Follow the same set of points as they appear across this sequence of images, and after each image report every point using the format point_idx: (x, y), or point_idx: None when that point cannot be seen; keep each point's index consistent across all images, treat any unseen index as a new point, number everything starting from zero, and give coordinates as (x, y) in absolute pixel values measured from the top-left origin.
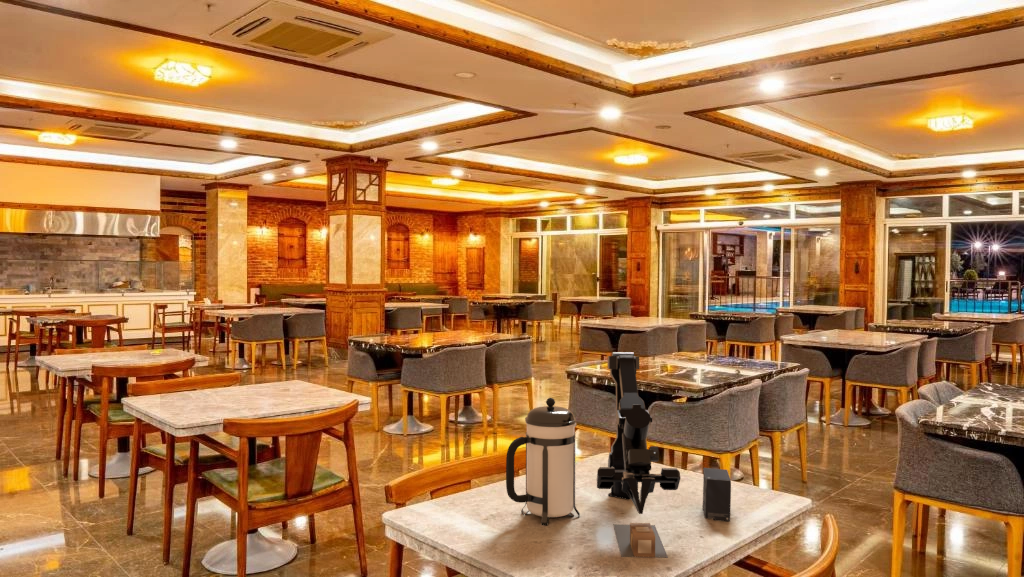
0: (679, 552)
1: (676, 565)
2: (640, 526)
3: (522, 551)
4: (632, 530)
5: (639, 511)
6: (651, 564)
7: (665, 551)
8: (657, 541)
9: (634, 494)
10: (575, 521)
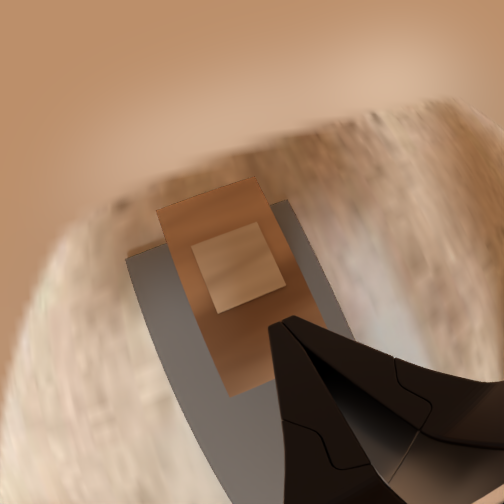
0: (102, 353)
1: (98, 230)
2: (264, 316)
3: (487, 170)
4: (285, 239)
5: (292, 316)
6: None
7: (144, 316)
8: (201, 411)
9: (409, 370)
10: None
